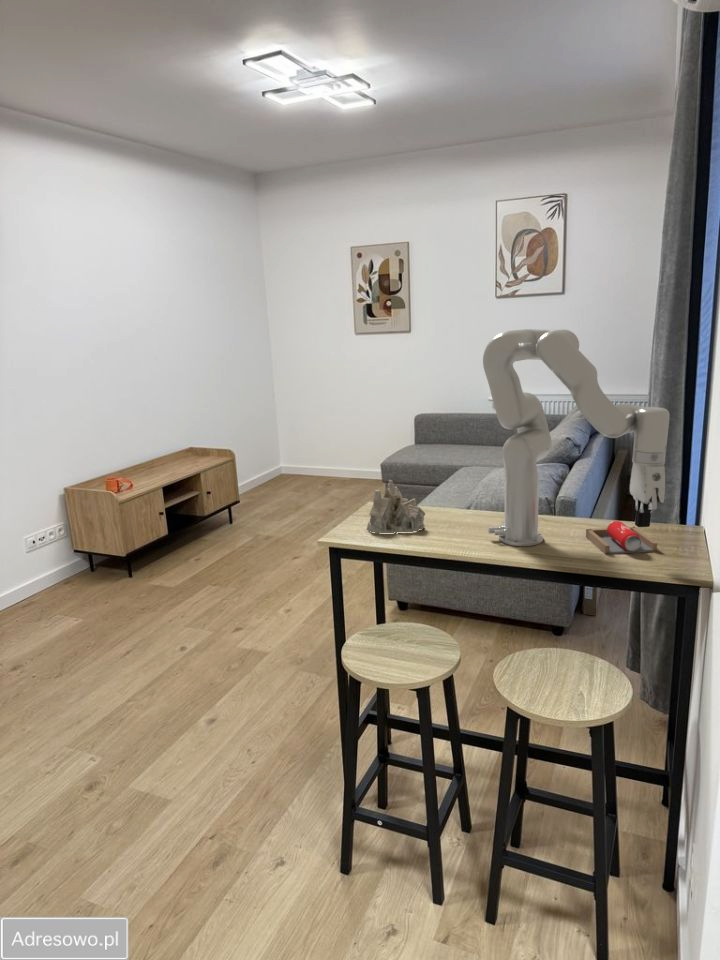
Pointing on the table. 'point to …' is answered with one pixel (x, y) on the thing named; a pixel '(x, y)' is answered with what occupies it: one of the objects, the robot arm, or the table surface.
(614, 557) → the table surface
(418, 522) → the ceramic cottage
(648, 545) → the tray
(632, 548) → the beverage can
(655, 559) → the table surface
